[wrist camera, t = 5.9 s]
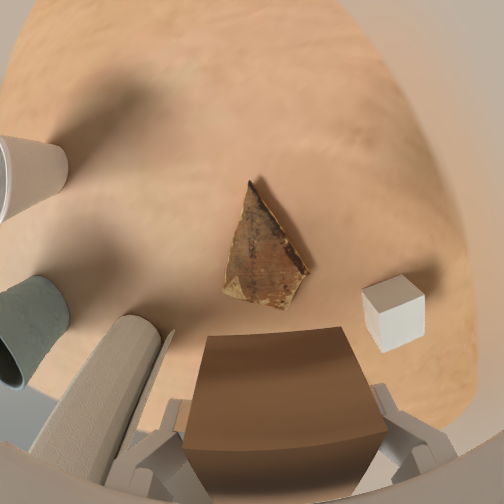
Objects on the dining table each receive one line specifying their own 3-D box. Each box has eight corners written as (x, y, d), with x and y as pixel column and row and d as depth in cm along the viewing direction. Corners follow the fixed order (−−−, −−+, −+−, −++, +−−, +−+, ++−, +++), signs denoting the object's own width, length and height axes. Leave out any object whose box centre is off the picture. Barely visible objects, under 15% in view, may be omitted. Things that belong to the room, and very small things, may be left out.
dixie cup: (67, 218, 24) (3, 246, 15) (22, 194, 23) (-39, 212, 14) (87, 142, 22) (18, 142, 12) (38, 125, 21) (-26, 124, 11)
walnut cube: (207, 336, 10) (181, 448, 5) (341, 326, 10) (388, 429, 5) (224, 416, 11) (216, 506, 7) (329, 409, 11) (350, 495, 7)
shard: (249, 178, 24) (248, 180, 22) (329, 202, 24) (335, 205, 23) (220, 287, 27) (218, 295, 25) (293, 305, 28) (296, 314, 26)
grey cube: (360, 289, 27) (378, 313, 22) (401, 273, 26) (424, 294, 22) (366, 326, 28) (382, 353, 24) (404, 311, 28) (424, 335, 23)
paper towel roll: (113, 344, 29) (32, 485, 9) (116, 305, 27) (7, 457, 7) (167, 365, 30) (114, 526, 10) (176, 327, 28) (106, 514, 8)
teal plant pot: (25, 318, 29) (-22, 363, 17) (19, 256, 26) (-43, 295, 14) (77, 347, 30) (33, 405, 18) (75, 283, 27) (11, 339, 15)
